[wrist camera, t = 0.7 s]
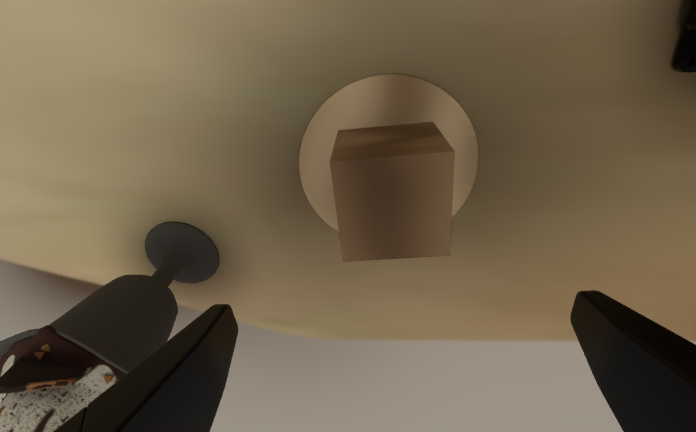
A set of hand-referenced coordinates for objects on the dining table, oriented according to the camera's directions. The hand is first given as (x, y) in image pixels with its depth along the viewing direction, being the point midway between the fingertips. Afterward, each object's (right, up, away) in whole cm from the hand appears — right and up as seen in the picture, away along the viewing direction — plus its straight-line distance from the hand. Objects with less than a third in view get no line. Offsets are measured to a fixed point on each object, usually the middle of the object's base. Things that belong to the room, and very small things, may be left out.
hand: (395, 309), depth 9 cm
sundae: (-12, 0, +14) cm, 19 cm away
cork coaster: (+1, +5, +11) cm, 12 cm away
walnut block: (+1, +5, +10) cm, 11 cm away
